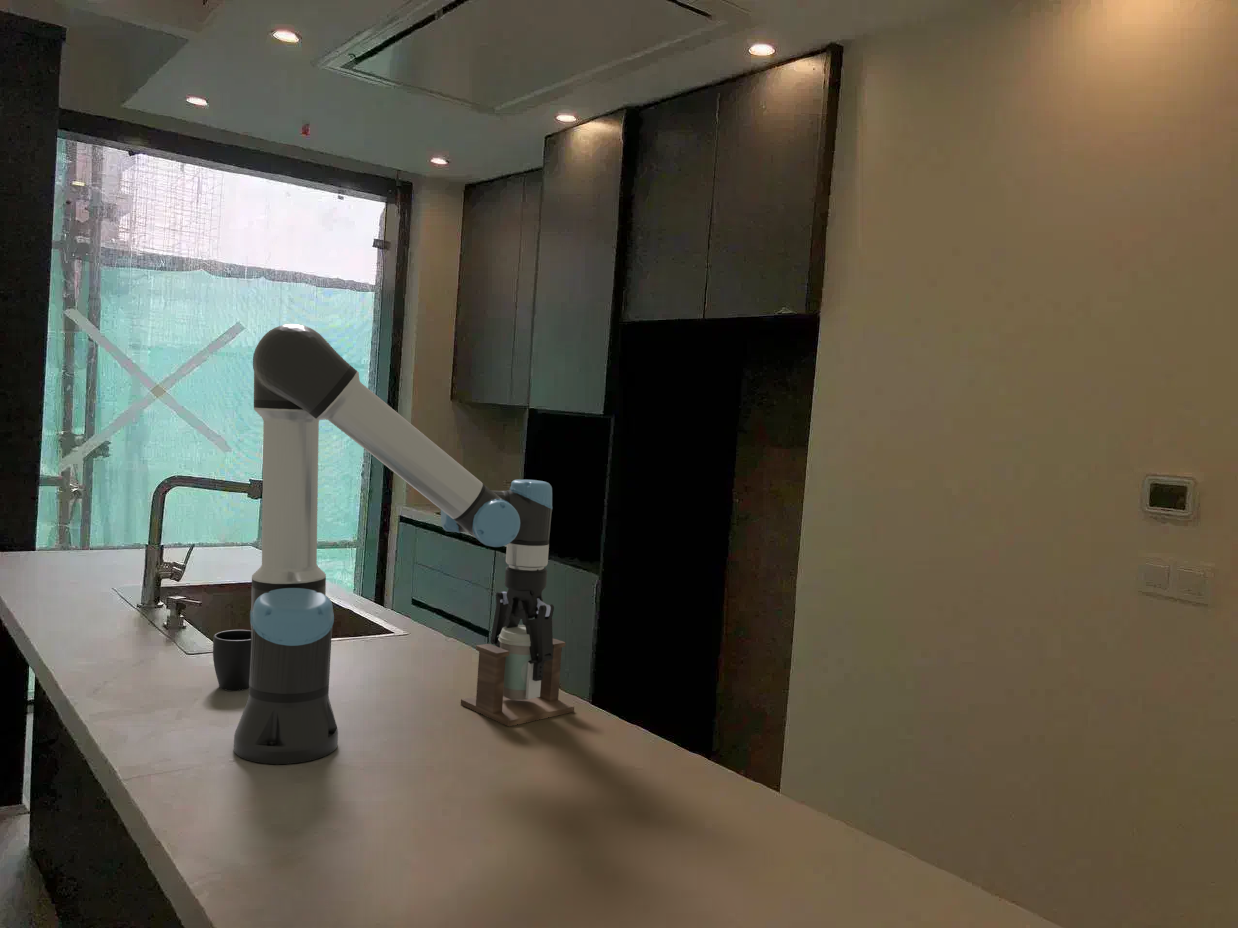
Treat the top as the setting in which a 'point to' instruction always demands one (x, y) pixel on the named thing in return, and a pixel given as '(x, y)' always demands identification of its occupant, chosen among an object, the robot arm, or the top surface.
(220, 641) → the mug
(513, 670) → the coffee cup
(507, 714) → the wooden stand
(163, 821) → the top surface
